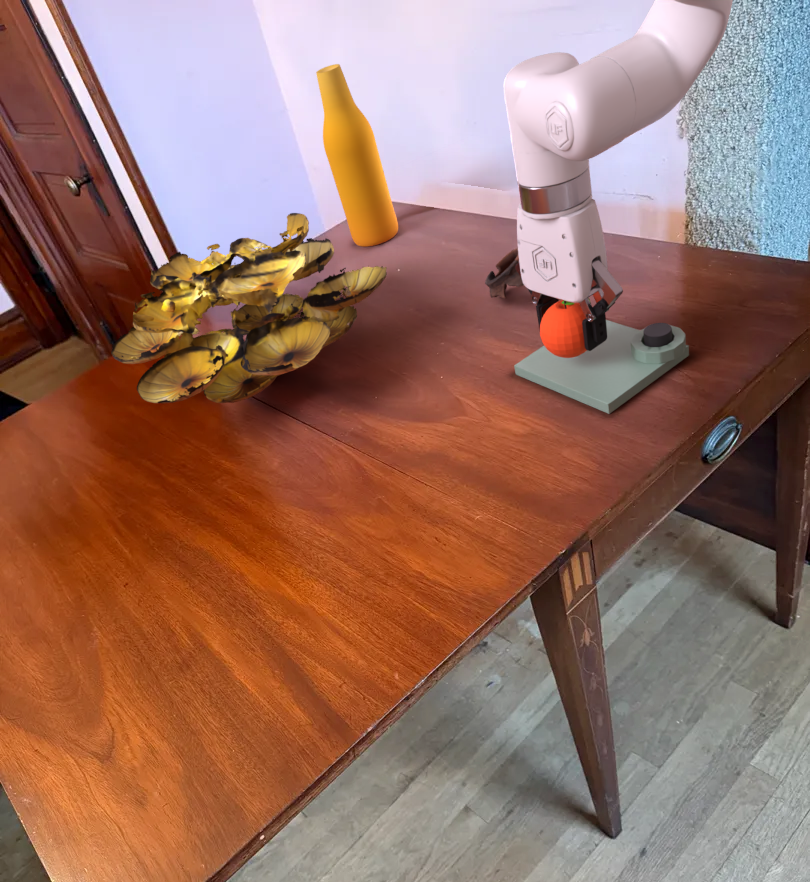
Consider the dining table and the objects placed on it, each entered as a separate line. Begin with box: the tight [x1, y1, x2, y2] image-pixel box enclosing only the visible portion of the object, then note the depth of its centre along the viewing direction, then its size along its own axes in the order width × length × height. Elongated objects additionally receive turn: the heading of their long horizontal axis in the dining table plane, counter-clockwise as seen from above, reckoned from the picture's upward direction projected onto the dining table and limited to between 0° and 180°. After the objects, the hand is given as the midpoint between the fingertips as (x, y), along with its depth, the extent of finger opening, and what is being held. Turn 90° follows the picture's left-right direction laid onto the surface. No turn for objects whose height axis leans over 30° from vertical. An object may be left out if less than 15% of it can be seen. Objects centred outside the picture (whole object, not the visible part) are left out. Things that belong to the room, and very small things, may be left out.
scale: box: [513, 319, 690, 415], centre depth 93 cm, size 16×15×3 cm
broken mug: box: [484, 247, 524, 299], centre depth 111 cm, size 12×10×8 cm
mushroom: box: [110, 212, 388, 404], centre depth 111 cm, size 41×45×17 cm
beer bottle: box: [315, 63, 399, 248], centre depth 135 cm, size 9×9×29 cm
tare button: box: [643, 322, 672, 347], centre depth 89 cm, size 3×3×2 cm
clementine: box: [539, 297, 592, 358], centre depth 91 cm, size 8×7×7 cm
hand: (572, 335), depth 92 cm, fingers closed on clementine, 7 cm apart
